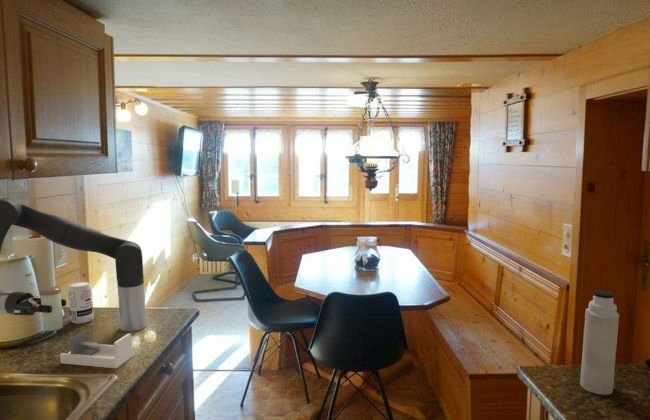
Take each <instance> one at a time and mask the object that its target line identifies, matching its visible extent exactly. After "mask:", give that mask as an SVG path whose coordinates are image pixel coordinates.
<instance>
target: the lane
mask: <svg viewBox="0 0 650 420" xmlns="http://www.w3.org/2000/svg"><path fill="white" fill-rule="evenodd" d="M88 348H94V349H99V351H97V352H96V353H94V354H93V355H80V354H71V350H70V351H68V352H67V353H66V352H61V353H60V354H59V358H60V359H59V360H60V364H64V365H74V366H75V365H76V366H77V365H78V366H86V367H87V366H89V367H95V368H97V367H98V368H106V369H107V368H108V369H117V368H119V367H120V366H122V365H124V363H126V362H127V361H129V360H130V359H131V358H133V357H134V356H135V348H134V346H132V334H131V333H129V332H127V333H126V334H125V335H124V336H122V337H121V338H119V339H117V340H116V341H114V342H113V344H103V343H98V346H97V347H96V346H88Z"/></svg>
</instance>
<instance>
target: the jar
mask: <svg viewBox="0 0 650 420" xmlns="http://www.w3.org/2000/svg"><path fill="white" fill-rule="evenodd" d="M61 288H62V287H61V286H49V287H48V286H47V287H44V288H41V289H40V290H39V295H40V296H39V297H41V305H49V306H52V312H50V313H43V312H41V317H42V319H41V320H42V330H43V331H45V332H53V331H54V332H55V331H57V330H60V329H62V328H63V327H64V320H63V319H64V318H63V306H62V304H61V299H62V294H61V292H62V289H61Z"/></svg>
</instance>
